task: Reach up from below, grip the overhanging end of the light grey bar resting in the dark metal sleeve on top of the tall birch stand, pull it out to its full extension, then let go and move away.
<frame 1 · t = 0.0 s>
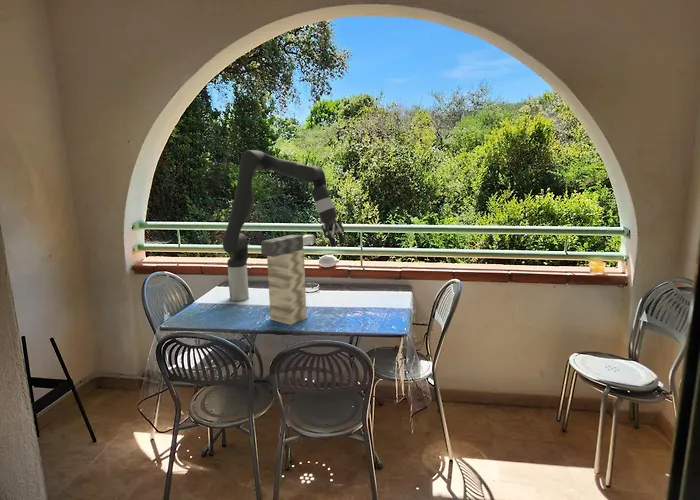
hand: (338, 244, 198), 31 cm above the table, tool tilted 20°, fingers open, 8 cm apart
stand: (288, 318, 198), on the table
light grey bar: (293, 242, 195), point 33 cm above the table, slide at 0.0 cm
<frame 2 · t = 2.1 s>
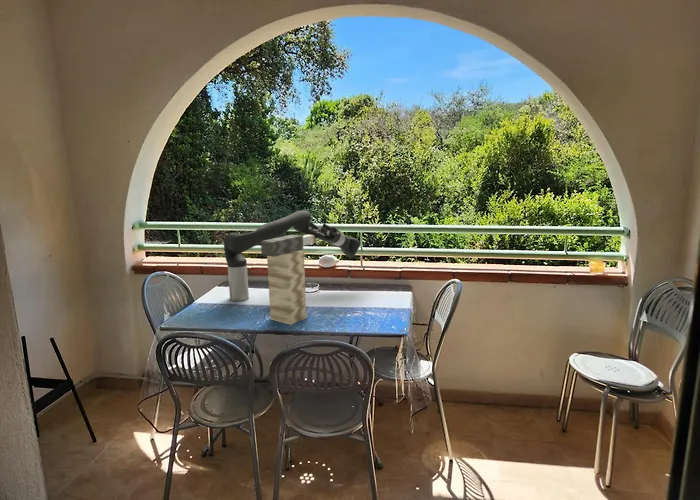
hand: (316, 224, 220), 37 cm above the table, tool pointing upward, fingers open, 8 cm apart
nothing on the table moved.
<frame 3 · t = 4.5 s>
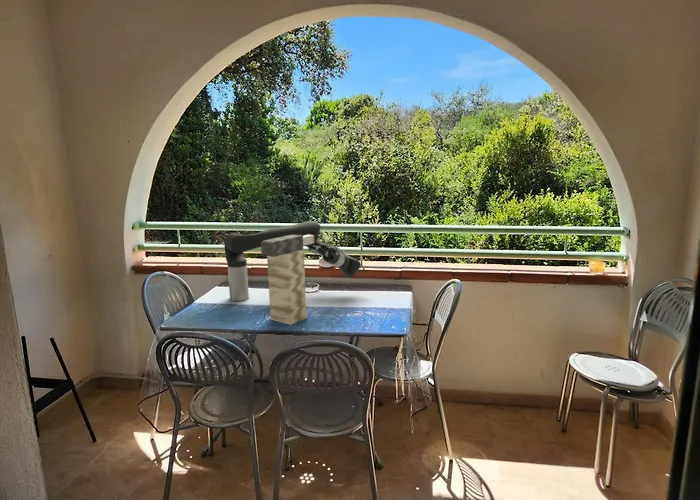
hand: (314, 245, 207), 30 cm above the table, tool pointing upward, fingers open, 8 cm apart
nothing on the table moved.
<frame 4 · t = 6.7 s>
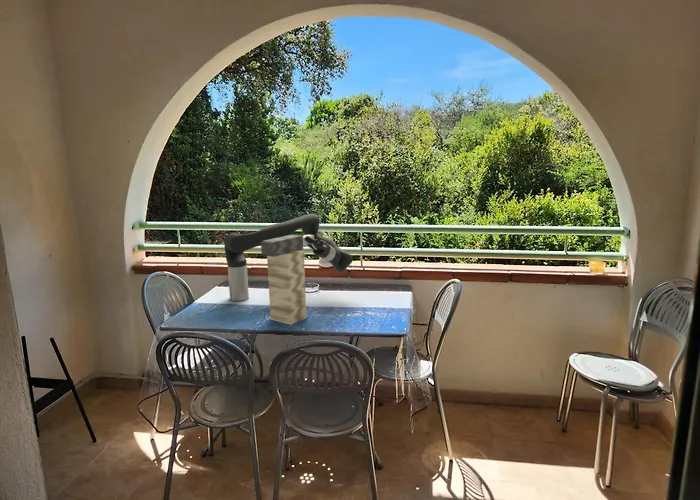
hand: (302, 237, 200), 34 cm above the table, tool pointing upward, fingers closed on light grey bar, 3 cm apart
light grey bar: (293, 242, 195), point 33 cm above the table, slide at 0.0 cm, touching gripper
everything else where it was.
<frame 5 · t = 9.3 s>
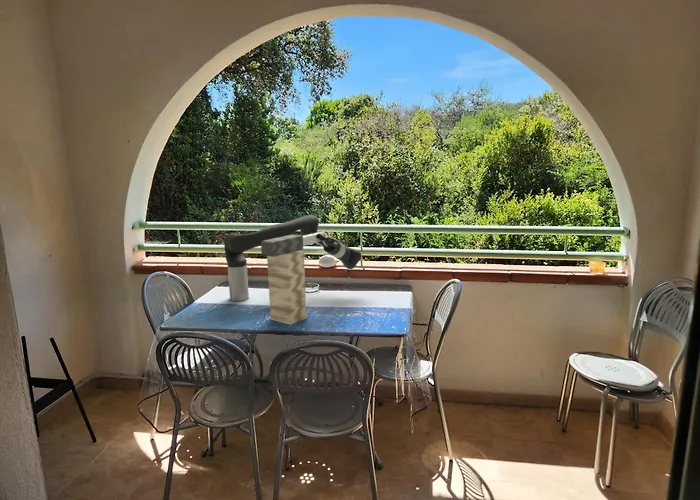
hand: (314, 235, 206), 34 cm above the table, tool pointing upward, fingers closed on light grey bar, 3 cm apart
light grey bar: (305, 240, 202), point 33 cm above the table, slide at 7.9 cm, touching gripper
everything else where it was.
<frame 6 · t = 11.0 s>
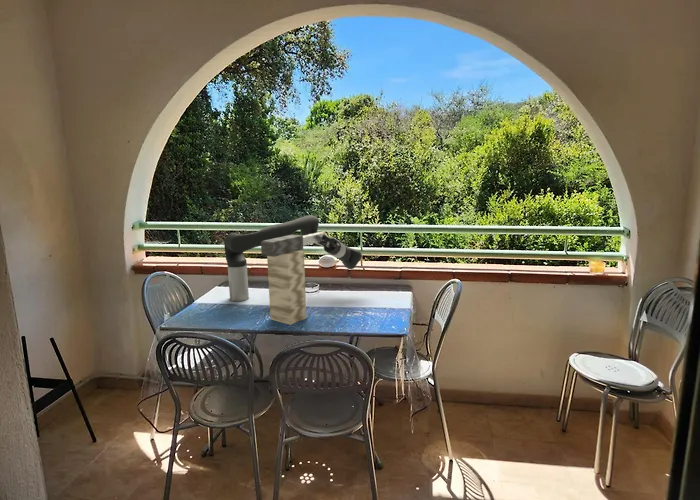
hand: (315, 235, 207), 34 cm above the table, tool pointing upward, fingers open, 8 cm apart
light grey bar: (305, 240, 202), point 33 cm above the table, slide at 7.9 cm
everything else where it was.
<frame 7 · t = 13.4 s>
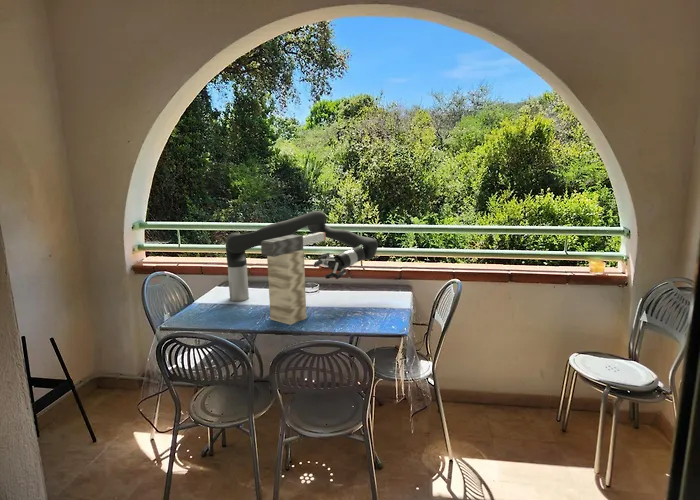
hand: (320, 271, 207), 18 cm above the table, tool horizontal, fingers open, 8 cm apart
nothing on the table moved.
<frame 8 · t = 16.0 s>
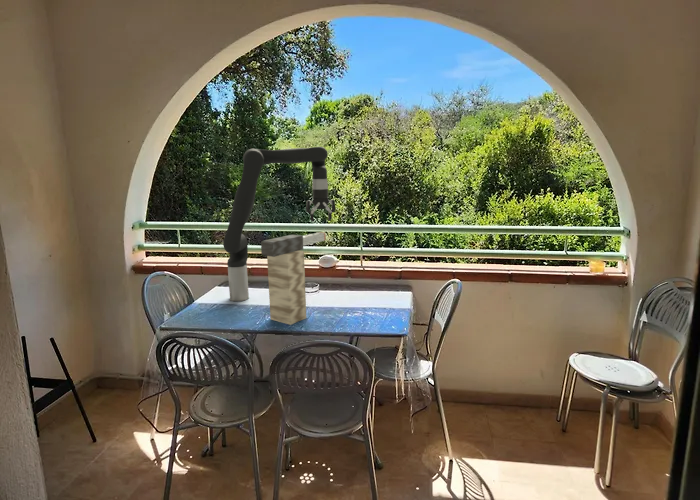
hand: (321, 221, 225), 38 cm above the table, tool pointing down, fingers open, 8 cm apart
nothing on the table moved.
at the end: light grey bar slide at 7.9 cm; the gripper is holding nothing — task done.
